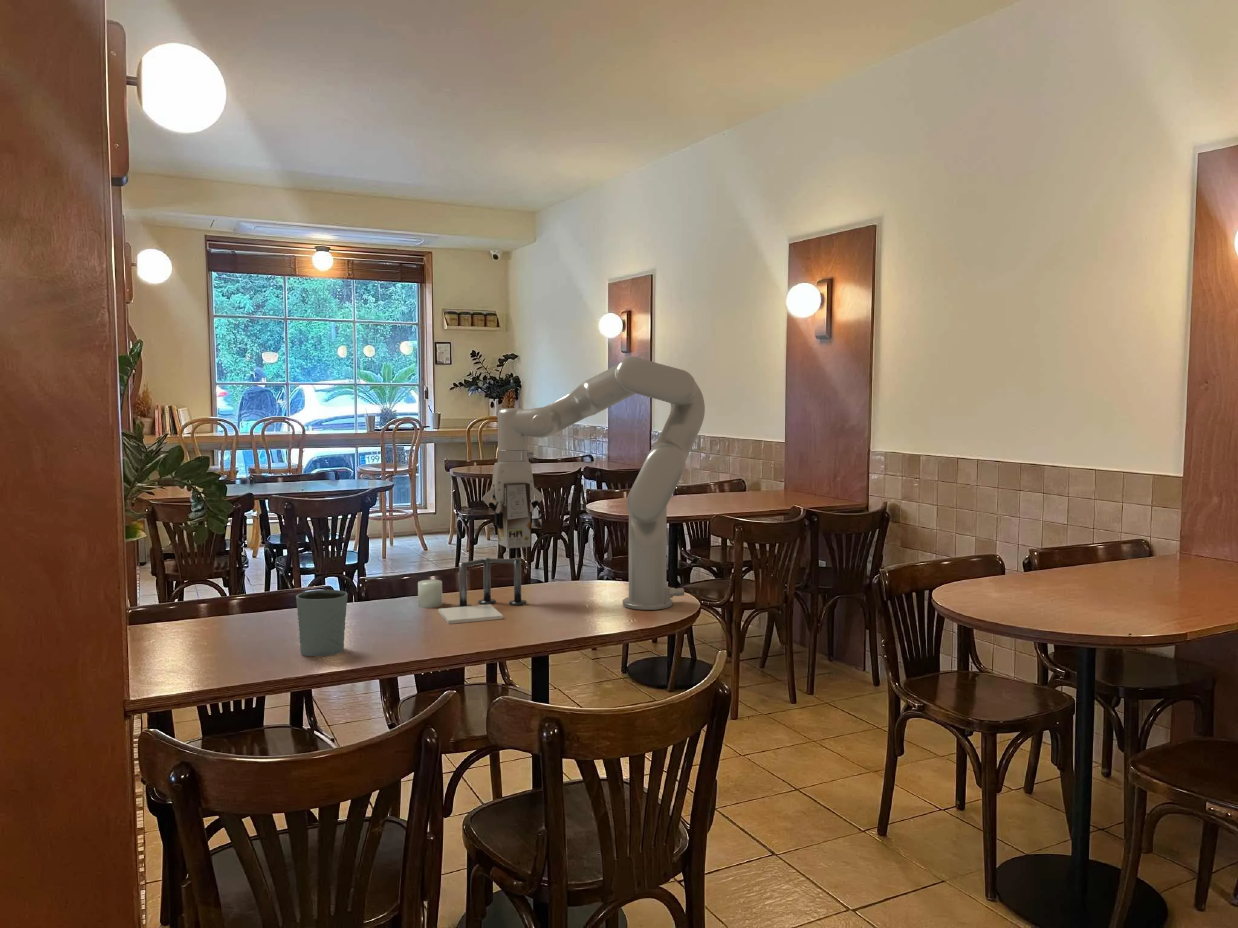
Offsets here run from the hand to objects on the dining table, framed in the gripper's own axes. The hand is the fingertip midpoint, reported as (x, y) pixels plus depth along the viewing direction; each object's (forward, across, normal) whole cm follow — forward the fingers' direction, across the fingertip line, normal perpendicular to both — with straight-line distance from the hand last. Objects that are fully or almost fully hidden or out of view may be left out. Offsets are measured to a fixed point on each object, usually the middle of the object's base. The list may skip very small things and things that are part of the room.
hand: (513, 526), depth 234 cm
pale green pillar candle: (+20, +20, -7) cm, 29 cm away
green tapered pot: (+20, +48, +28) cm, 59 cm away
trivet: (+20, +13, +8) cm, 25 cm away
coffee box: (+5, 0, 0) cm, 5 cm away
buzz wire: (+20, +6, -2) cm, 21 cm away
